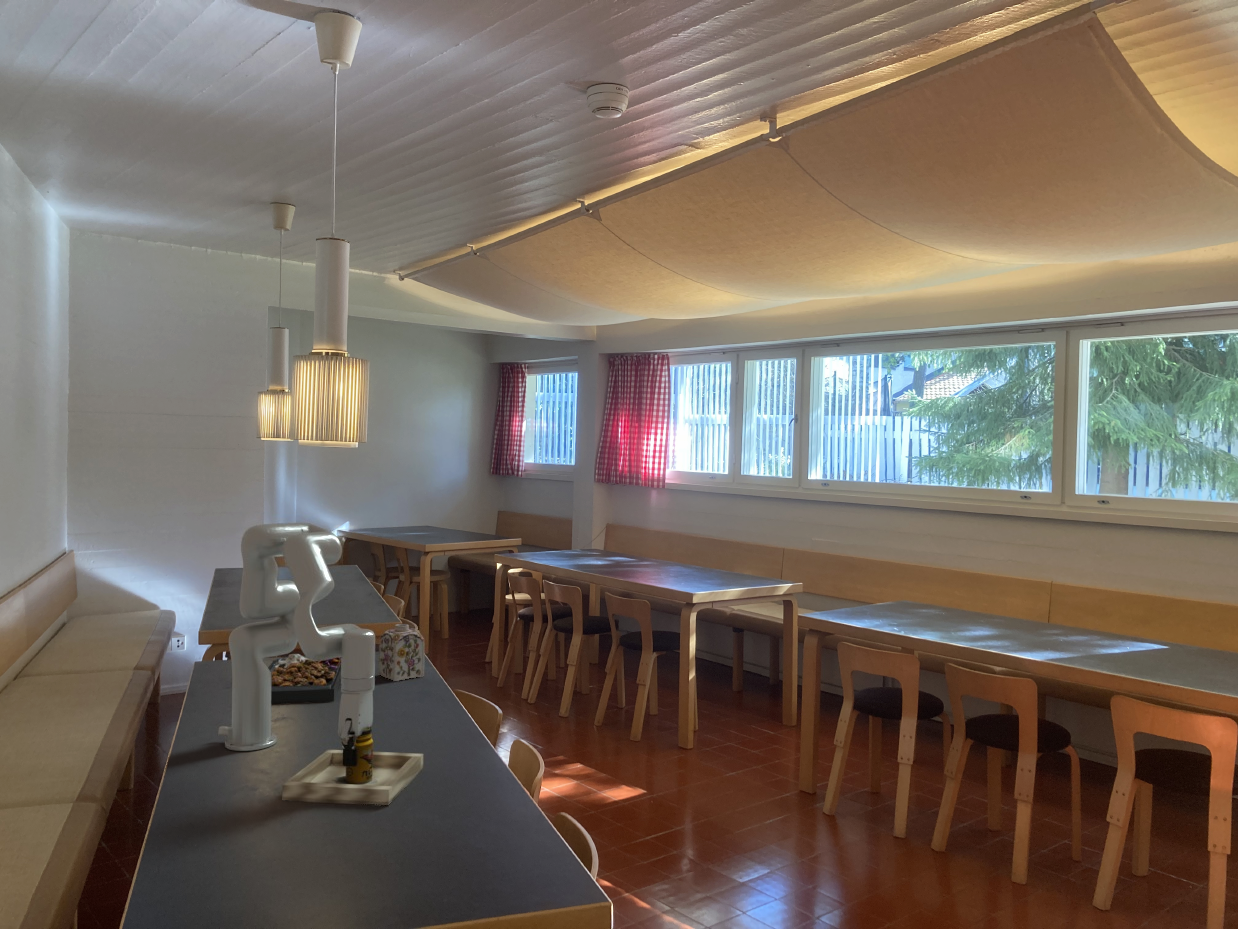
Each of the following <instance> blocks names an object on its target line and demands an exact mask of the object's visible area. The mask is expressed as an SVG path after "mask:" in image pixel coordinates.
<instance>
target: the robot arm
mask: <svg viewBox="0 0 1238 929" xmlns="http://www.w3.org/2000/svg"><path fill="white" fill-rule="evenodd" d="M240 542H241V543H240V551H241V556H242V557H241V559H242V566H243V568H242V575H241V586H240V593H239V594H240V595H239V607H238V608H239V613H240V615H241V616H242V617H243V618H244V619H246V620H252V621H253V620H263V619H264V620H265V619H266V621H264V620H263V621H258V622H250V623H245V624H242V625H239V626H237V627H236V628H233V630H232V631H231V632H230V634H229V637H228V648H229V653H230V654H229V655H230V659H231V660H230V661H231V671H232V672H231V674H232V675H231V676H232V677H231V679H232V683H231V684H232V685H231V686H232V687H231V690H232V693H231V697H232V698H231V726H221V725H220V726H219V728H218V733H217V735H218V736H219V737H226V738H227V739H226V740H225V742H224V747H225V748H226V749H228V750H230V751H237V752H249V751H250V752H251V751H258V750H263V749H265V748H270V747H272V746H274V745H276V743H277V742H278V737H277V735H276V734H273V733H271V732H272V704H271V686H272V683H271V673H270V670H269V669H268V667H269V666H267V665H266V663H265V662H264V659H268V658H271V657H278V656H282V655H287V654H289V653H292V652H293V651H294V650H295V649H296V648H297V645H298V644H299V647H300V650H301V651H302V653H303V654H304V656H305V658H308V659H310V660H313V661H321V660H327V659H331V658H337V657H341V683H340V692H341V696H340V702H339V709H338V710H339V711H338V725H337V726H338V728H337V734H338V736H339V737H340V740H341V745H342V747H341V748H342V750H343V766H353V767H355V766H356V765H357V748H356V743H357V738H358V736H359V735H361V734H362V732H363V731H364V730H366V729H367V728H368V727H370V728H371V729H372V726H373V721H374V697H373V696H374V694H373V691H374V690H375V686H376V685H375V681H376V678H375V676H376V674H375V673H376V634H375V633H374V631H373V630H372V629H369V628H362V627H360V626H358V625H356V624H353V623H344V624H337V625H328V626H323V627H322V626H321V627H317V625H316V623H315V620H314V618H313V615H312V606H313V605H315V604H316V603H318V602H319V601H321V600H323V599H324V598H326V597H327V596H329V594H330V593H332V592H333V590H334V589H335V580H334V578H333V576H332V574H331V571H330V570H329V567H328V566H329V565H334V564H336V563H338V561H339V560H340V559H341V557H342V553H343V547H342V544H341V541H340V539H339V537H338V536H337V535H336V534H335V533H333V532H332V531H330V530H328V529H325V528H323V527H320V526H318V525H316V524H312V523H309V522H284V523H283V522H282V523H265V524H258V525H257V524H256V525H253V526H251V527H249V528H247V529H246V530H245V531H244V532H243V536H242V537H241V541H240ZM275 557H276V558H277V557H284V558H283V559H284V561H285V563H286V565H287V568H288V570H289V573H290V575H291V578H292V580H288V579H283V580H282V579H281V580H278V576H279V575H278V574H279V566H278V563H277V561H276V559H275ZM271 618H275V619H271ZM267 619H271V620H267ZM350 732H352V733H355V734H349V733H350ZM349 738H353V743H352V741H351V739H349Z"/></svg>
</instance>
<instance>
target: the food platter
mask: <svg viewBox="0 0 1238 929" xmlns="http://www.w3.org/2000/svg"><path fill="white" fill-rule="evenodd" d="M267 667H268V669H269V670H270V673H271V683H272V686H271V705H285V704H286V703H291V704H303V703H302V702H314V703H330V702H329V701H334V702H335V700H336V697H337V695H338V692H339V689H340V687H341V657H337V658H331V659H327V660H321V661H313V660H310V659H308V658H307V657H304V656H303V655H301V654H299V653H292V654H289V655H288V657H287V658H286V657H285V658H283V657H280V658H276V659H274V660H272V662H271V663H270V664H269V666H267ZM337 691H338V692H337ZM336 694H337V695H336ZM326 701H327V702H326ZM283 703H284V704H283ZM286 705H287V704H286Z"/></svg>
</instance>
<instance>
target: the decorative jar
mask: <svg viewBox="0 0 1238 929" xmlns="http://www.w3.org/2000/svg"><path fill="white" fill-rule="evenodd" d="M409 626H410V625H409V624H407V623H397V624H395V625H394V628H391V629H387V630H386V631H384V632H383V633H382V634H381V636H380V637H379V640H378V645H379V646H378V676H379V675H381V676H383V677H385V678H384V679H386V678H388V679H387V680H389V679H391V680H393V681H392V682H394V681H397V682H400V681H399V680H403V681H406V680H405V679H409V678H414V679H417V678H416V677H420V678H424V677H423V676H425V638H424V636H423V635H422V633H421V632H420V630H419V629H416V628H412V627H411V628H410V627H409ZM381 676H380V677H381ZM383 677H382V678H383ZM391 680H390V681H391ZM409 680H410V679H409Z"/></svg>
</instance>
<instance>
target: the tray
mask: <svg viewBox="0 0 1238 929" xmlns="http://www.w3.org/2000/svg"><path fill="white" fill-rule="evenodd" d="M423 769H424V753H413V752H411V753H410V752H407V753H406V752H392V751H391V752H387V751H373V775H372V776H373V777H374V778H375V779H376V780H377V781H378V782H375V783H370V784H365V785H353V784H336V783H335V781H334V780H333V778H335V777H342V776H346V766H343V749H342V750H341V749H327V750H325V751H324V752H323V753H322V754H321V755H319V756H317V757H316V759H314V760H313V761H311V762H310V763H309V764H307V765H306V766H305V767H304V768H302V769H301V770H299V771H298V772H297V773H296V774H294V775H293V776H292V777H290V778H289V779H288V780H286V781H285V782H284V783H283V784H282V790H281V791H282V792H281V793H282V794H281V795H282V796H281V798H282V799H281V800H290V801H289V802H303V803H304V802H305V803H324V804H343V805H345V804H346V805H347V804H348V805H363V804H364V805H365V804H366V805H365V806H368V805H367V804H375V805H374V806H379V805H378V804H382V805H389V804H390V803H391V802H392V801H393V800H394V799H395V798H396V799H397V798H398V796H400V794H401V793H402V792H403V791H404V790H405V789H406V788H405V787H407V786H408V785H410V783H411V782H412V781H413V780H414V779H415V778H416V777H417V776H418V775H419V773H420V772H421V771H422V770H423ZM404 788H405V789H404ZM401 791H402V792H401ZM396 799H395V800H396ZM395 800H394V801H395ZM394 801H393V802H394ZM393 802H392V803H393ZM392 803H391V804H392ZM376 804H377V805H376ZM391 804H390V805H391ZM390 805H389V806H390Z"/></svg>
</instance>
